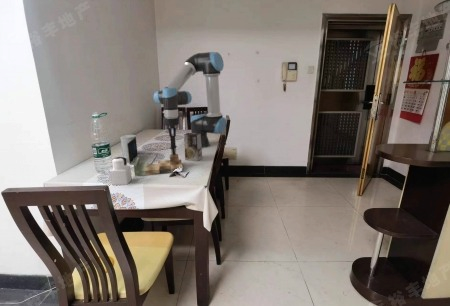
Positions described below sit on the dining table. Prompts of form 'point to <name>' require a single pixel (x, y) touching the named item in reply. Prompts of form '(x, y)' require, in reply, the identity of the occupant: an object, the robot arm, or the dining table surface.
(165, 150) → the dining table surface
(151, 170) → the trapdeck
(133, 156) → the laptop
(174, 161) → the block
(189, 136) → the coffee box
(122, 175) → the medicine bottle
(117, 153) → the dining table surface
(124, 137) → the grey mottled cylinder
